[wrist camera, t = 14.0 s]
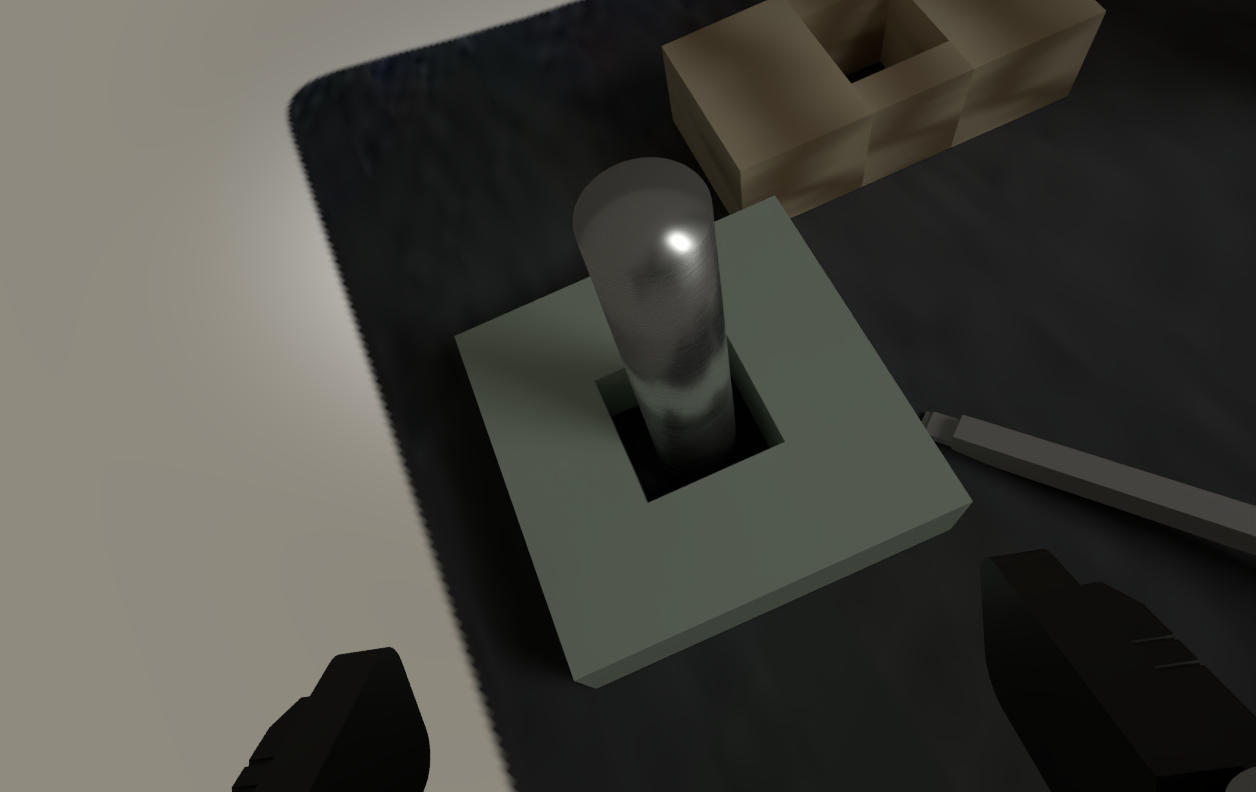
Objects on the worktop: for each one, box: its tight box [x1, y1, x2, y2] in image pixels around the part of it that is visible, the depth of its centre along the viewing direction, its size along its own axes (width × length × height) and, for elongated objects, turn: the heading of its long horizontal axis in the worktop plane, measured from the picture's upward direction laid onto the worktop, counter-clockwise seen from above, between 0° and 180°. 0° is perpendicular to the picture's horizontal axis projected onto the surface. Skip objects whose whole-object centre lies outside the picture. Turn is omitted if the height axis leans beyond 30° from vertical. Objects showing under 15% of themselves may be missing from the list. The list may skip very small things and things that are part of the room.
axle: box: [573, 157, 738, 484], centre depth 24 cm, size 3×3×15 cm
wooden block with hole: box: [662, 0, 1106, 218], centre depth 35 cm, size 16×8×4 cm, turn 112°
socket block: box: [454, 195, 973, 689], centre depth 29 cm, size 14×14×4 cm
